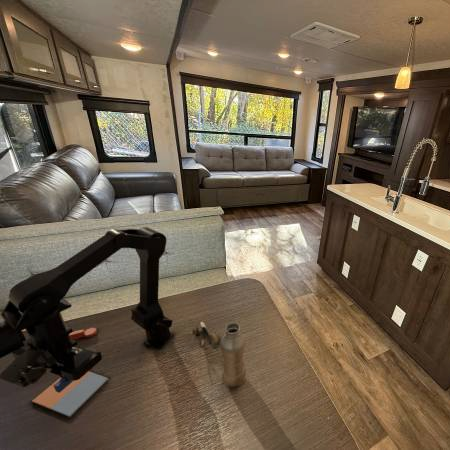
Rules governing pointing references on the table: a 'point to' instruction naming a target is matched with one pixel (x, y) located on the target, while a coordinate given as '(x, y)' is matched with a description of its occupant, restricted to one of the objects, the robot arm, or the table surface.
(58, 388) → the blue spoon
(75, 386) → the mat
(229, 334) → the plastic bottle
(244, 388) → the table surface
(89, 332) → the terracotta spoon
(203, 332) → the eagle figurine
